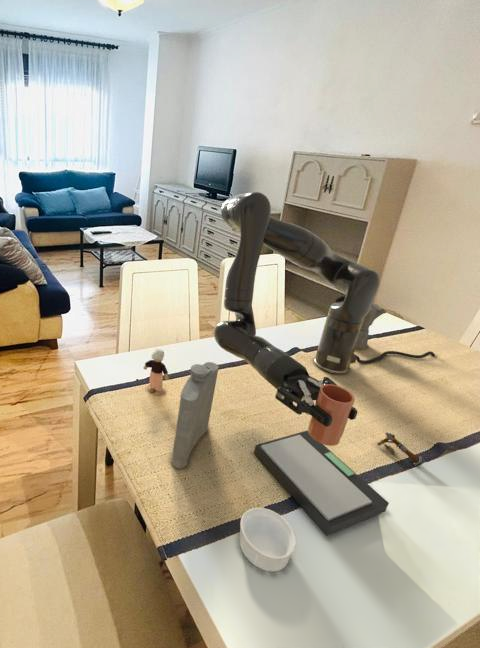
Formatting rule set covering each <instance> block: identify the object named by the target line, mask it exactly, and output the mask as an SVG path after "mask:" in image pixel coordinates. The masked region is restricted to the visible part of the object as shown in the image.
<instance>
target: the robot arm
mask: <svg viewBox="0 0 480 648" xmlns="http://www.w3.org/2000/svg"><path fill="white" fill-rule="evenodd" d="M220 213H221V218H222V221H223V222H224V223H225V225H226V226H227V227H228V228H229V229H231V230H233V231H236V232H238V233H239V234H240V239H239V245H238V249H237V252H236V255H235V257H234V259H233V261H232V263H231V266H230V268H229V270H228V272H227V275H226V279H225V286H224V287H225V288H224V295H223V297H224V298H223V307H224V309H225V310H226V311H228V312H232V313H234V315H235V320H223V321H220V322H218V323H217V324H216V325H215V327H214V328H213V329H214V330H213V337H214V340H215V342H216V343H217V345H218V346H219V347H220V348H221V349H222V350H224V351H225V352H227V353H229V354H231V355H234V356H235V357H237V358H240V359H241V360H243V361H245V362H246V363H247V364H248V365H249V366H250V367H252V368H253V369H254V370H255V371H256V372H257V373H258V374H259V375H260V376H261V377H262V378H263V379H264V380H265V381H267V382H268V383H269V384H270V385H271V386H272V387H273V388H274V389H276V392H275V397H274V398H275V400H277V401H278V402H280V403H281V404H283V405H284V406H286V407H287V408H288V409H289V410H290V411H293V412H294V413H295V414H297V415H299V416H300V415H302V414H303V413H304V414H306V415H308V416H310V417H311V416H312V417H313V418H315V419H316V420H317V421H318V422H319V423H321V424H323V425H324V426H325V427H327V426H330V425H331V422H332V417H331V416H330V415H329V414H328V413H326V412H325V411H324V410H323V409H321V408H320V407H319V406H318V405H315V402H314V401H316V400H317V396H318V393H319V390H320V387H321V386H322V385H325V384H333V385H337V386H339V385H338V384H337V383H336V382H334V381H333V380H332V379H331V378H330V377H328V376H324V377H323V379H320V380H319V379H317V378H316V377H313V376H311V375H310V374H309V372H308V370H307V368H306V367H305V366H304V365H303V364H301V363H300V362H299V361H297V360H296V359H295V358H293V357H292V356H290V355H289V354H288V353H286V352H285V351H283V350H282V349H280V348H279V347H277V346H274V345H273V344H272V343H270V341H268V340H266V339H265V338H263V337H261V336H258V335H256V334H257V328H256V322H255V315H254V310H253V299H254V290H255V280H256V274H257V270H258V263H259V260H260V256H261V254H262V250H263V249H262V248H263V245H264V247H267V248H268V249H270V250H271V251H273V252H274V253H276V254H278V255H280V257H283V258H284V259H286V260H287V261H289V262H291V263H292V264H294V265H296V266H297V267H299V268H301V269H303V270H306V271H308V272H312V273H315V274H317V275H319V276H320V277H322V278H323V279H324V280H325V281H326V282H328V283H329V284H330V285H332V286H333V287H334V288H335V289H337V290H338V291H339V292H340V293H343V294H345V299H344V302H343V301H341V302H337V303H335V302H333V303H332V304H331V305H330V306H329V309H328V312H327V314H326V319H325V322H324V326H323V329H322V333H321V336H320V339H319V343H318V346H317V350H316V354H315V357H314V359H313V363H314V365H315V366H316V367H318V368H319V369H321V370H323V371H324V372H327V373H330V374H335V375H342V374H345V373H347V372H348V369H350V367H351V364H355V363H356V362H358V363H360V364H371V363H374V362H377V361H380V360H382V359H384V357H385V356H387V355H397V356H403V357H407V358H411V359H424V358H426V357H428V356H429V355H430V356H432V357H435V353H434V352H433V351H431V350H430V351H427V352H425V353H423V354H411V353H406V352H401V351H397V350H396V351H395V350H387V351H384V352H382V353H381V354H380V355H379V356H376V357H373V358H370V359H365V360H363V359H361V358H360V356H359V355H357V354H355V351H356V350H357V349H356V346H357V338H358V335H359V332H360V329H361V326H362V323H363V320H364V317H365V316H366V315H367V314H368V312H369V311H370V309H371V306H372V304H373V303H374V301H375V298H376V296H377V294H378V292H379V288H380V285H381V278H380V275H379V273H378V272H377V271H375V270H374V269H372V268H369V267H367V266H365V265H362V264H361V263H358V262H355V261H352V260H349V259H347V258H345V257H343V256H341V255H339V254H337V253H336V252H334V251H333V250H332V249H331V248H330V246H329V244H328V243H327V242H325V241H324V240H323V239H322V237H321V238H320V237H319V236H318V235H316V234H315V233H313V232H312V231H310V230H308V229H307V228H304V227H302V226H301V225H297V224H295V223H291V222H288V221H284V220H281V219H278V218H275V217H274V216H271V215H272V214H271V213H272V205H271V203H270V200H269V198H268V196H266V194H264V193H262V192H258V191H251V192H245V193H238V194H234V195H232V196H230V197H228V198H227V199H226V200H224V202H223V203H222V206H221V210H220ZM295 404H296V405H295ZM357 416H358V410H357V408H356V407H354V406H353V407H352V410H351V413H350V415H349V418H348V420H351V421H352V420H355V419H356V418H357Z"/></svg>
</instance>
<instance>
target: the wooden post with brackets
mask: <svg viewBox="0 0 480 648" xmlns="http://www.w3.org/2000/svg"><path fill="white" fill-rule="evenodd" d="M384 434H385V435H386V437H385V438H383V439H381V440H379V441H378V442H377V443H376V445H377V446H384V447H385V450H386V451H388V452H389V453H390V454H393V455H394V454H395V453H396V452H395V448H392V446H391V445H390V444H394V445H395V447H396V448H398V450H400V452H402V453H404V454H405V455H406V456H407V457H408V458H409V459H410V460H411V461H412V462H413V465H414V467H416V466H418V465H419V464H421V463H422V461H423V457H422V456H418V455H416V454H415V453H413V452H411V451H410V450H409V449H408V448H407V447H406V446H405V445H404V444H403V443H402V442H400V441H399V440H398V439H397V438H396V435H395V434H392V433H391V432H388V431H386V432H385V433H384ZM387 443H388V444H389V443H390V444H389V445H388V444H387Z"/></svg>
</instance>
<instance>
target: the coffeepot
mask: <svg viewBox="0 0 480 648" xmlns="http://www.w3.org/2000/svg"><path fill="white" fill-rule="evenodd" d="M345 297H346V295H341V296H338V297H336V299H335V300H334V301H335V302H334V303H337V302H344V299H345ZM384 314H387V311H386V309H384V308H382V307H380V306H379V304H376V303H374V302H373V304H372V306H371V309H370V311H369V312H368V314H367V315H366V316H365V317H364V320H363V323H362V326H361V329H360V332H359V335H358V338H357V346H356V349H355V350H364V349H366V348H368V341H369V333H370V330H369V329H370V327H371V326H372V325H373V324H374V321H375V320H376V319H377V318H379V317H381V316H382V315H384Z"/></svg>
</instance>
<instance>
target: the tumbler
mask: <svg viewBox="0 0 480 648" xmlns="http://www.w3.org/2000/svg"><path fill="white" fill-rule="evenodd" d="M337 385H338V384H337ZM337 385H333V384H325V385H322V386H321V387H320V390H319V393H318V396H317V400H315V402H314V405H318V406H319V407H320V408H321V409H323V410H324V411H325V412H326V413H328V414H329V415H330V416H331V417H332V422H331V425H330V426H327V427H325V426H324V425H323V424H321V423H319V422H318V421H317V420H316V419H315V418H313V417H312V416H311V415H310V418H309V421H308V426H307V431H308V433H309V435H310V436H311V437H312V438H313V439H314V440H316V441H317V442H319V443H321V444H323V445H324V446H329V447H334V446H337V445H339V444H340V441H341V440H342V437H343V434H344V432H345V430H346V426H347V424H348V421H349V415H350V413H351V410H352V407H354V404H355V401H356V398H355V396H354V395H353V392H351V391H350V390H348V389H347V388H344V387H342V386H340V385H338V386H337Z"/></svg>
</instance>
